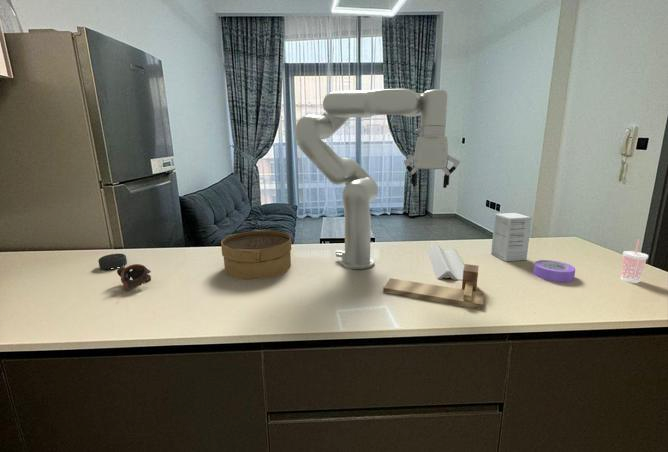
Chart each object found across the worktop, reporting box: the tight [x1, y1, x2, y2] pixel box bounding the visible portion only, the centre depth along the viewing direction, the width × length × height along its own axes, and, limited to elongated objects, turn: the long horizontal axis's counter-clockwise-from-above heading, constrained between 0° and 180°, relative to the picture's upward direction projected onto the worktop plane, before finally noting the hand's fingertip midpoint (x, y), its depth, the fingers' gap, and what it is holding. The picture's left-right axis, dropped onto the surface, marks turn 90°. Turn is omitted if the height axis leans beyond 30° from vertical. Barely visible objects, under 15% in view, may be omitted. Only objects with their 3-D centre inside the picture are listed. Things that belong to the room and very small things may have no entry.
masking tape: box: [532, 259, 576, 283], centre depth 113 cm, size 12×12×4 cm
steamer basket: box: [220, 230, 292, 281], centre depth 124 cm, size 25×25×11 cm
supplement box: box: [490, 212, 532, 262], centre depth 130 cm, size 10×9×17 cm
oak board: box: [382, 277, 485, 310], centre depth 101 cm, size 28×8×2 cm, turn 65°
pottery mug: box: [116, 263, 152, 292], centre depth 110 cm, size 12×10×8 cm
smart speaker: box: [97, 253, 128, 270], centre depth 128 cm, size 9×9×4 cm
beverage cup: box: [620, 238, 649, 284], centre depth 108 cm, size 6×6×14 cm
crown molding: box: [426, 243, 466, 281], centre depth 126 cm, size 31×12×4 cm, turn 171°
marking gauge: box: [461, 263, 480, 301], centre depth 99 cm, size 4×16×7 cm, turn 155°
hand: (429, 186), depth 110 cm, fingers open, 9 cm apart
